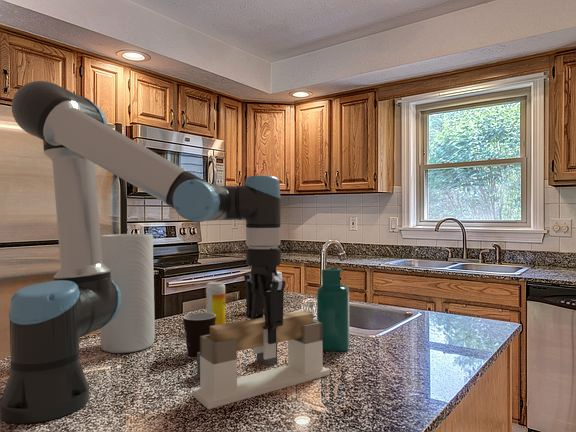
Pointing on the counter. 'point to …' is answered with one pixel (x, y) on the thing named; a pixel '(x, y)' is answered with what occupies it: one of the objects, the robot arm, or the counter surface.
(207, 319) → the coffee mug
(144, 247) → the paper towel roll
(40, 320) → the robot arm
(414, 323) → the counter surface
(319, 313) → the green square bottle
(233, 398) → the bracket stand
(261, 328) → the oak rail
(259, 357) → the blocks
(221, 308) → the white yellow bottle
